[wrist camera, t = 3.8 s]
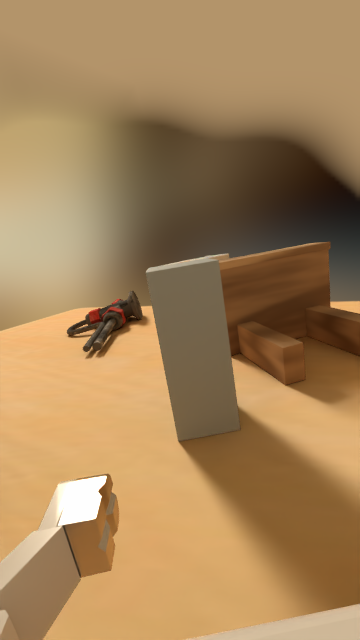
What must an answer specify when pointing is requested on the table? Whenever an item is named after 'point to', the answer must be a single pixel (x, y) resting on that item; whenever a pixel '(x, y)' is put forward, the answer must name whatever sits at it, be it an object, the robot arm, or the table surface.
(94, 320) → the valve
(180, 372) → the block
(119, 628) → the table surface
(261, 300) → the wooden u-shaped stand
